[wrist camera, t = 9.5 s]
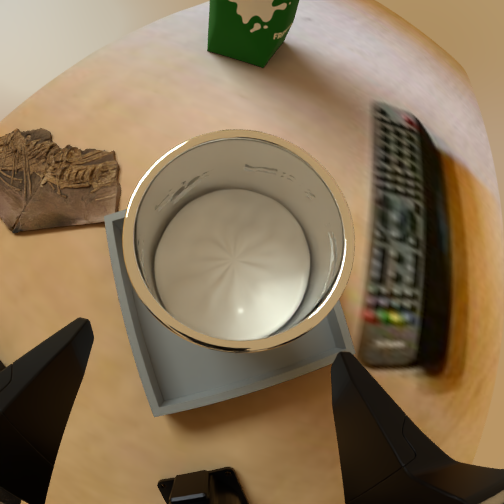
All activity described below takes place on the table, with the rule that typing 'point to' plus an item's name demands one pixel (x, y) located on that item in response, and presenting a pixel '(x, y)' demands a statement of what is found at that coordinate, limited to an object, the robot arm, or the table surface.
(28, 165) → the wooden fragment
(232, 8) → the milk carton
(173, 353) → the tray
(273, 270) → the metal tumbler
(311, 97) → the table surface
